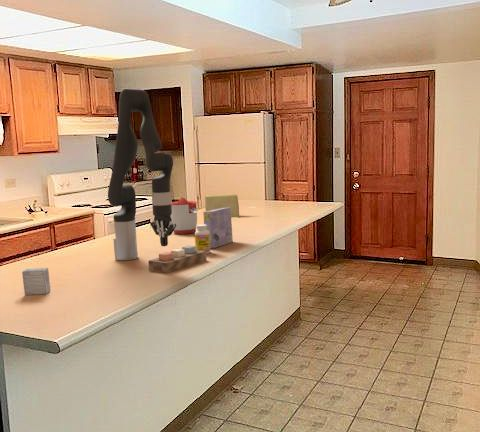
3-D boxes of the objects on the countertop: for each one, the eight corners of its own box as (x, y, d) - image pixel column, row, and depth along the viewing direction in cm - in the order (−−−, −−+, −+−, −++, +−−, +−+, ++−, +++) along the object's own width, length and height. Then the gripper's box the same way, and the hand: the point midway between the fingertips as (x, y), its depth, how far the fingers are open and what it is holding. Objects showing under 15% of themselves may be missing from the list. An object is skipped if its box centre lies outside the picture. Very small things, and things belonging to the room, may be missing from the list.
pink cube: (166, 264, 216) (165, 254, 215) (159, 263, 218) (158, 254, 218) (173, 262, 219) (172, 252, 219) (166, 261, 222) (165, 252, 221)
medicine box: (51, 290, 195) (48, 267, 193) (47, 294, 190) (44, 270, 189) (28, 292, 194) (26, 268, 193) (24, 295, 190) (21, 271, 189)
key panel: (166, 273, 212) (166, 263, 212) (149, 270, 218) (148, 260, 218) (206, 260, 231) (205, 251, 231) (188, 258, 237) (188, 249, 237)
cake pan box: (226, 241, 273) (224, 206, 270) (234, 241, 270) (232, 206, 268) (204, 248, 257) (202, 211, 254) (213, 249, 254) (211, 212, 251)
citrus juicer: (187, 236, 291) (185, 199, 288) (164, 233, 302) (162, 198, 299) (206, 231, 303) (204, 196, 301) (184, 229, 314) (181, 195, 311)
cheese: (242, 216, 356) (240, 193, 353) (236, 218, 347) (235, 195, 345) (211, 215, 364) (210, 193, 362) (205, 218, 355) (204, 195, 353)
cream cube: (178, 260, 222) (177, 251, 221) (171, 260, 224) (170, 250, 223) (184, 258, 225) (184, 249, 224) (177, 258, 227) (177, 248, 227)
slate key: (189, 257, 227) (189, 248, 227) (182, 256, 230) (182, 247, 229) (196, 255, 230) (195, 246, 230) (189, 254, 233) (188, 245, 232)
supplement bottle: (197, 255, 243) (195, 226, 241) (194, 252, 249) (192, 224, 247) (211, 253, 245) (210, 225, 243) (208, 250, 251) (207, 223, 249)
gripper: (180, 203, 214) (182, 245, 217) (156, 201, 222) (159, 242, 225) (167, 205, 208) (169, 249, 211) (143, 203, 216) (145, 246, 219)
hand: (164, 245), depth 218 cm, fingers closed
